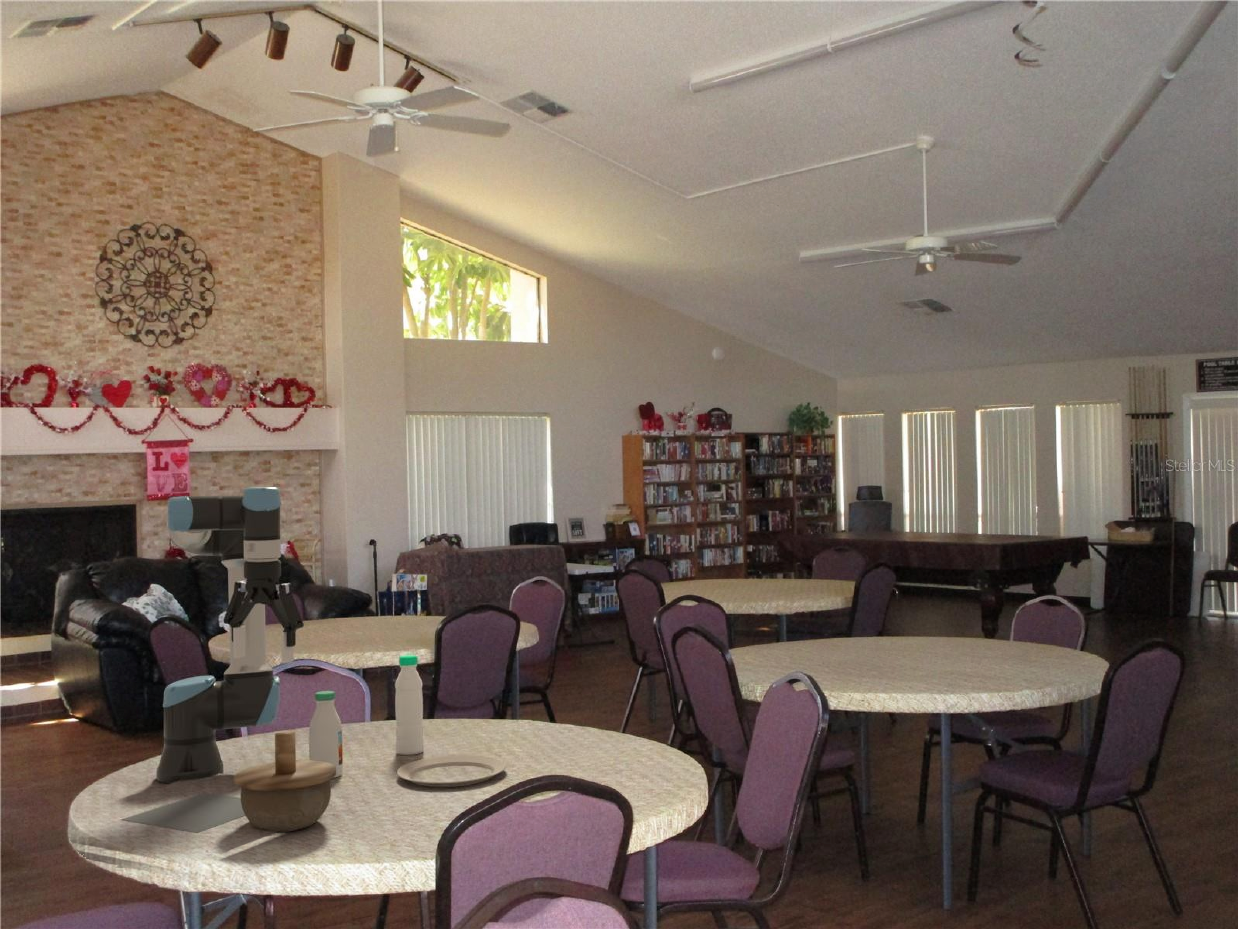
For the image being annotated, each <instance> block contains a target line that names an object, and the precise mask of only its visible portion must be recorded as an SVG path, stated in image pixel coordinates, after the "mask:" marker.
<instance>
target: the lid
mask: <svg viewBox="0 0 1238 929" xmlns="http://www.w3.org/2000/svg"><path fill="white" fill-rule="evenodd" d="M296 748H297V746H296V731H294V730H281V731H277V732H275V733H274V761H275V762H268V763H263V764H258V765H254V766H250V767H246V768H244V769H242V770H239V771H238V772H237V773H234V774H235V775H234V776H233V784H234V786H236V787H237V788H240V789H241V788H243V789H248V790H259V791H274V790H288V789H296V788H302V787H308V786H312V785H316V784H320V783H323V782H325V781H328V780H331V779H334V778H333V777H334V776H335V775H336V767H335V766H334V765H333V764H331V763H327V762H322V761H312V760H309V759H308V760H307V759H306V760H303V759H302V760H296V758H297V754H296Z"/></svg>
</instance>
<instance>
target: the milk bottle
mask: <svg viewBox="0 0 1238 929" xmlns="http://www.w3.org/2000/svg"><path fill="white" fill-rule="evenodd" d="M335 698H336V694H335V691H334V690H333V691H332V690H323V691H318V692H315V694H314V700H315V701H314V702H315V704H316V705H315V709H314V712H313V715H312V718H311V719H310V724H309V727H308V728H309V729H308V760H312V761H322V762H327V763H331V764H333V765H334V766H335V767H336V775H335V776H334V777H333V778H332V779H335V778H339V777H341V776H342V775H343V770H344V769H343V767H344V766H343V764H344V763H343V759H344V758H343V755H344V754H343V729H342V728H343V727H342V722H341V718H340V716H339V714H338V713H337V710H336V706H335V700H336V699H335Z"/></svg>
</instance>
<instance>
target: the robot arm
mask: <svg viewBox="0 0 1238 929" xmlns="http://www.w3.org/2000/svg"><path fill="white" fill-rule="evenodd" d="M242 493H243V495H216V496H213V495H209V496H207V495H206V496H203V495H202V496H201V495H200V496H195V495H194V496H193V495H192V496H188V495H182V496H173V497H169V498H168V500H167V528H168V532H169V533H168V534H169V538H170V540H171V542H172V543H173V544H174V545H175V546H176V548H177V547H178V548H179V549H180V550H181V551H182V550H183V551H184V552H188V553H191V554H195V555H197V556H198V555H199V556H207V557H208V556H211V557H212V556H214V557H215V556H220V557H221V564H222V565H223V566H224V567H225V568H227V574H228V575H227V579H228V580H227V581H228V584H227V586H228V607H227V609H226V612H225V615H224V618H223V623H224V624H228V626H229V632H228V633H229V664H230V665H229V667H228V668H227V669H226V670H225V671H224V673H223V680H220V681H219V680H218V681H216V678H215V676H214V675H209V674H208V675H199V676H198V675H197V676H194V677H193V676H192V677H188V678H184V679H180V680H177V681H174V682H173V683H170V684H169V685H166V687H165V689H164V692H163V703H162V707H163V749H162V752H161V756H160V759H159V764H158V766H157V768H156V772H155V773H156V781H157V782H159V783H162V784H169V785H171V784H173V783H177V782H180V781H190V780H192V781H193V780H199V779H204V778H208V777H212V776H215V775H218V774H221V775H222V774H224V761H223V759H222V757H221V754H220V750H219V747H218V744H217V742H216V731H217V730H218V731H219V730H228V729H229V730H231V729H239V728H248V727H250V728H251V727H255V728H256V727H258V726H265V725H270V724H272V723H273V722H275V719H276V717H277V714H278V708H279V702H280V692H281V691H280V690H281V689H280V688H281V687H280V684H281V680H280V677H279V676H277V675H274V669H273V668H272V666H270V665H269V664H268V663H267V635H266V634H267V632H266V631H267V630H266V629H267V628H266V606H267V607H269V608H271V610H272V612H273V614H274V616H276V617H275V618H276V619H278V621H279V623H280V625H281V626H282V628H283V630H282V631H281V664H287V663H291V662H294V658H295V657H294V654H295V653H294V648H295V646H296V643H297V642H296V641H297V640H296V637H297V634H296V632H297V630H299V629H301V628H303V627H304V626H305V625H304V621H303V619H302V616H301V614H300V612H299V608H298V606H297V603H296V600H295V598H294V595H293V590H292V584H291V583H290V582H288V583H281V584H280V582H279V579H280V577H282V576H281V575H282V562H281V560H280V559H279V558H281V556H282V553H281V552H282V551H281V550H282V549H281V548H282V547H281V545H282V544H281V543H282V542H281V505H282V500H281V491H280V489H279V488H278V487H275V486H254V487H253V486H251V487H246V488H244V490H243V492H242Z"/></svg>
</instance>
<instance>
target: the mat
mask: <svg viewBox="0 0 1238 929" xmlns="http://www.w3.org/2000/svg"><path fill="white" fill-rule="evenodd" d="M243 817H246V816H245V814H244V812H243V809H242V805H241V797H238V796H231V795H230V796H229V795H223V794H216V793H210V792H203V793H198V794H196V795H193V796H190V797H187V798H184V799H180V800H177V801H175V802H171V803H168V804H165V805H162V806H159V807H155V808H151V809H149V810H146V811H143V812H140V813H137V814H134V815H130V816H128V817H125V818H124V817H123V818H122V819H120V820H121V821H126V822H132V823H137V824H142V825H148V826H154V827H160V828H165V829H171V830H177V831H184V832H189V833H195V834H198V833H202V832H203V831H206V830H209V829H212V828H215V827H218V826H220V825H223V824H225V823H228V822H231V821H234V820H237V819H240V818H243Z"/></svg>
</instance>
